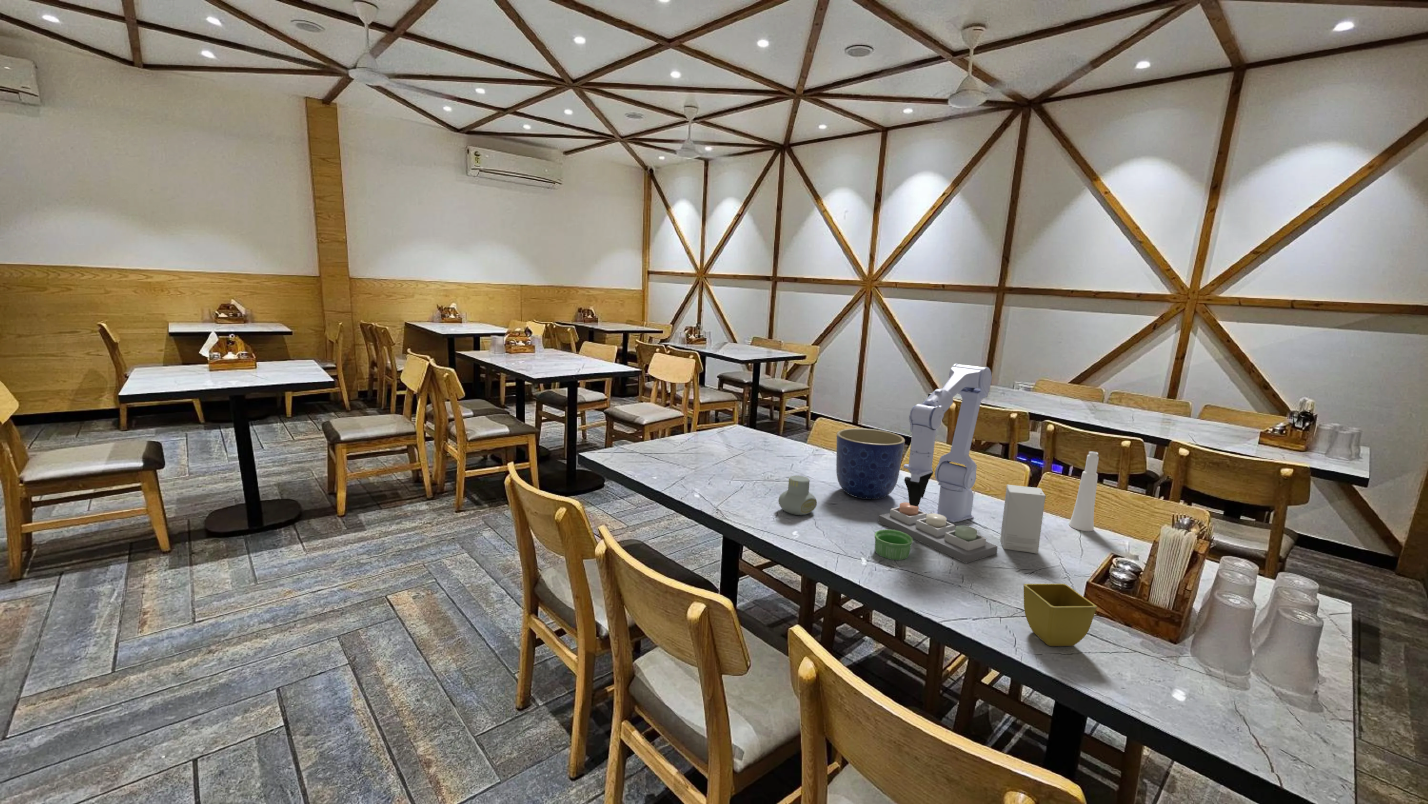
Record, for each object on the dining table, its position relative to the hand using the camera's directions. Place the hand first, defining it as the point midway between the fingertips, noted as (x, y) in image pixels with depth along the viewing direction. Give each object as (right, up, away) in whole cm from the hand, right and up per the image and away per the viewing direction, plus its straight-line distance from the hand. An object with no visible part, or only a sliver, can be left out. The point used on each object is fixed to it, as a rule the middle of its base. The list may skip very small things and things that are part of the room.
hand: (916, 500), depth 153 cm
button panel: (+5, -10, +1) cm, 11 cm away
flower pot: (+10, -19, -44) cm, 49 cm away
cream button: (+5, -7, +1) cm, 8 cm away
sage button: (+10, -8, -7) cm, 15 cm away
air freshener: (-29, -6, +15) cm, 33 cm away
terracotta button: (+1, -5, +8) cm, 10 cm away
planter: (-5, -4, +33) cm, 34 cm away
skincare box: (+25, -12, -3) cm, 28 cm away
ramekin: (-9, -11, -10) cm, 18 cm away
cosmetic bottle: (+51, -10, +13) cm, 54 cm away
